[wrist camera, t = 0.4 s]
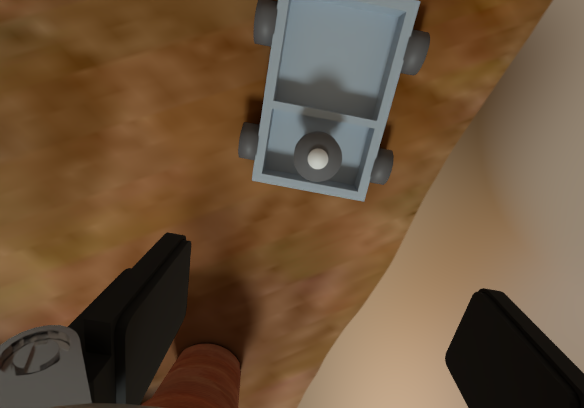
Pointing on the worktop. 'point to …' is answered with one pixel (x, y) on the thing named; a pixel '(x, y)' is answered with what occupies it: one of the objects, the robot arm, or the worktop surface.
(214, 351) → the potted plant
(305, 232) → the worktop surface
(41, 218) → the worktop surface
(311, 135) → the spare wheel
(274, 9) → the chassis
